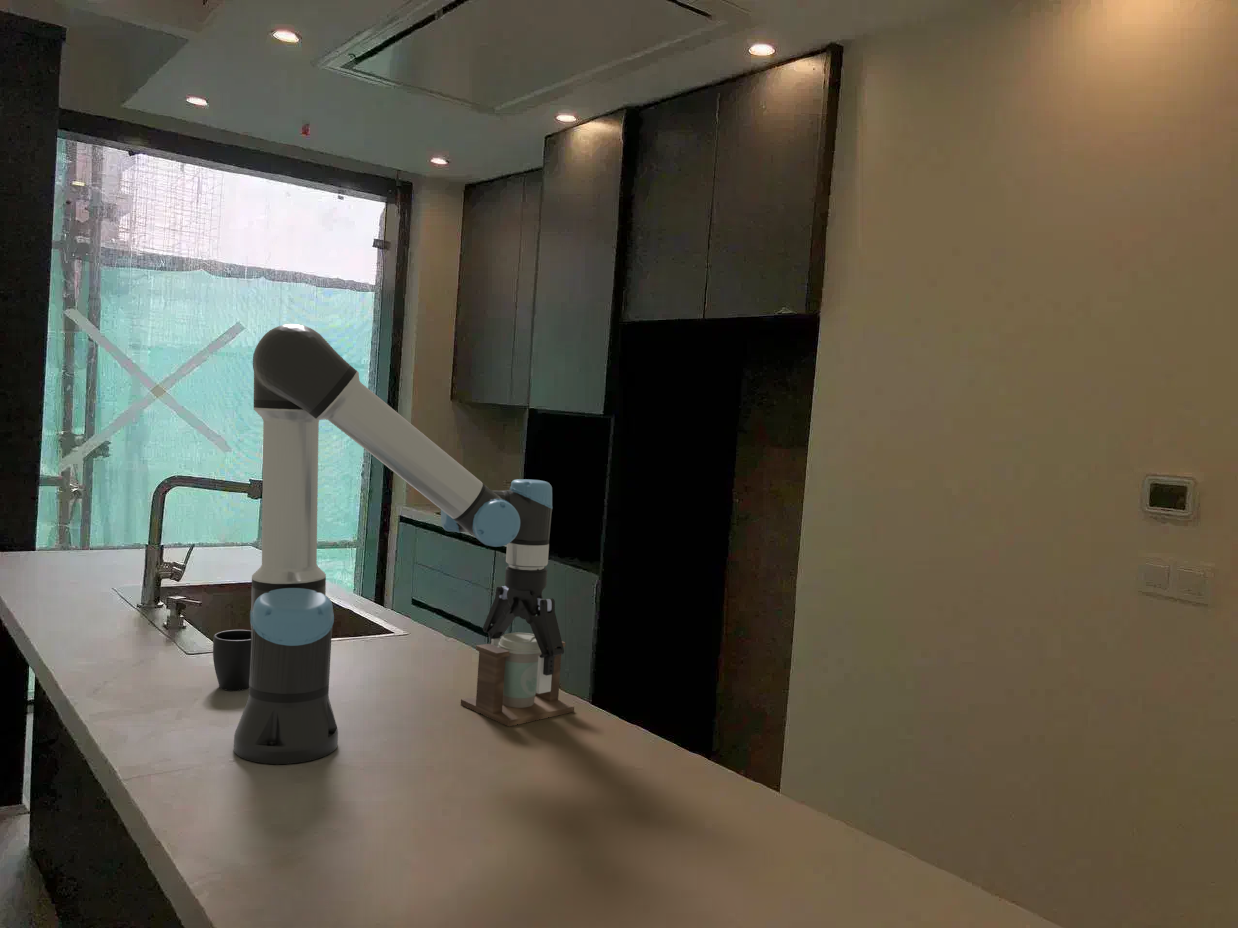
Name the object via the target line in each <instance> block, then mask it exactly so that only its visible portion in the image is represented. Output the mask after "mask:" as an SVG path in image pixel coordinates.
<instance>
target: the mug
mask: <svg viewBox="0 0 1238 928" xmlns="http://www.w3.org/2000/svg"><path fill="white" fill-rule="evenodd" d="M212 643H213V645H212V657H213V658H212V659H213V666H214V670H215V675H216V679H217V682H218V687H219V689H221V690H224V691H231V692H236V691H238V692H239V691H244V690H249V677H250V657H251V630H250V629H230V630H223V631H219V632H216V633H215V634H214V635H213V642H212Z"/></svg>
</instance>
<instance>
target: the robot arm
mask: <svg viewBox="0 0 1238 928" xmlns="http://www.w3.org/2000/svg"><path fill="white" fill-rule="evenodd" d="M252 355H253V356H252V369H253V410H254V411H255V412H256V413H257V414H258V415H259V417H261V419H262V420H263V425H262V426H263V427H262V429H263V430H262V431H263V432H262V433H263V434H262V437H263V439H262V443H263V444H262V504H261V505H262V507H261V508H262V509H261V510H262V512H261V513H262V519H261V528H262V529H261V565H260V567H259V568H258V569H257V570H256V571H254V573H253V574H252V575H251V604H250V605H251V608H250V611H249V623H250V629H251V657H250V677H249V689H248V698H247V701H246V704H245V706H244V709H243V711H242V714H241V717H240V719H239V722H238V724H237V726H236V729H235V732H234V735H233V736H234V737H233V738H234V739H233V752H234V753H235V754H236V756H238V757H240V758H241V759H244V760H247V761H249V762H250V761H251V762H254V763H260V764H270V765H273V764H274V765H284V764H285V765H287V764H297V763H298V764H299V763H305V762H309V761H310V762H311V761H314V760H318V759H321V758H323V757H325V756H329V754H332V753H333V752H334V751H335V750H336V749H337V748H338V740H339V729H338V725H337V722H336V719H335V718H336V717H335V714H334V711H333V707H332V704H331V701H330V697H329V694H330V692H329V691H330V677H331V676H330V675H331V674H330V673H331V671H330V670H331V655H332V653H331V652H332V634H333V625H334V621H335V616H334V615H335V614H334V609H333V608H334V607H333V603H332V601H331V599H330V598H329V597H328V596H327V595H326V593H327V592H326V591H327V588H326V587H327V584H326V583H327V580H326V578H327V576H326V575H327V573H325V571H323V569H321V568H320V566H318V564H317V560H318V559H317V558H318V557H317V555H318V554H317V552H318V551H317V550H318V549H317V548H318V498H319V497H318V494H319V492H318V489H319V488H318V487H319V486H318V485H319V483H318V482H319V478H318V477H319V429H320V428H319V424H320V423H319V422H320V421H321V420H327V421H329V422H330V423H331V424H332V425H334V426H335V427H336V428H337V429H339V430H340V431H341V432H343V433H344V434H345V435H346V436H347V437H349V438H350V439H351V440H353V441H354V442H355V443H357V445H359V446H360V447H362V448H363V449H364V450H365V451H367V453H369V454H370V455H372V456H373V457H374V458H376V459H377V460H378V461H379V462H381V464H383V465H384V466H385V467H387V468H388V469H389V470H390V471H392V472H393V473H394V474H396V476H398V477H400V478H401V480H403V481H405V482H406V483H407V484H409V486H411V487H412V488H413V489H415V490H416V491H417V492H419V493H420V494H421V495H422V496H424V497H425V498H426V499H427V500H429V501H430V502H431V503H432V504H433V505H435V506H436V507H437V508H438V509H440V522H441V526H442V528H443V530H444V531H445V532H446V531H447V532H453V533H458V534H461V533H469V535H472V536H473V537H474V538H476V539H477V540H478V541H479V542H480V543H481V544H483V545H484V546H489V547H495V548H497V547H504V546H506V553H505V563H507V566H506V567H505V572H504V586H503V585H502V586H497V587H496V589H495V596H494V600H493V602H492V605H491V608H490V610H489V612H488V614H487V616H486V619H485V622H484V624H483V626H482V631H483V633H487V635H488V638H489V644H491V645H494V646H497V647H498V645H499V642H500V640H501V637H502V635H504V634H505V633H506V631H507V629H509V627H510V626H511V624H512V623H513V621H514V620H515V619H516V618H517V617H519V618H520V619H522V620H525V621H526V624H528V625H529V626H530V628H531V631H532V634H534V636H535V638H536V641H537V643H538V646H539V648H540V651H541V653H542V654H541V655H540V656H539V657H538V672H537V687H536V693H538V694H540V693H545V692H550V691H551V679H552V674H553V672H554V660H555V656H556V655H561V656H562V655H564V653H565V647H563V644H562V641H563V640H562V636H561V632H560V628H559V623H558V620H557V619H558V618H557V616H556V602H555V599H554V598H543V592H544V590H545V589H546V587H547V585H548V584H547V582H548V571H549V570H548V569H547V568H546V567H547V565H548V564H549V551H550V534H551V524H552V512H553V508H554V507H553V487H552V485H551V484H550V482H548V481H545V480H540V479H529V478H528V479H526V478H525V479H524V478H522V479H521V478H519V479H518V478H516V479H513V480H512V481H511V483H510V487H509V489H505V490H492V489H491V488H489V487H488V486H487V485H486V484H484V483H483V482H482V481H481V480H480V479H479V478H478V477H476V476H475V475H474V474H472V472H471V471H469V470H467V468H465V467H464V466H463V465H462V464H460V462H458V461H457V460H456V459H454V457H452V456H450V455H449V454H448V453H447V452H446V451H445V450H444V449H442V448H441V447H440V446H439V445H438V444H436V443H435V441H432V440H431V439H430V438H429V437H427V435H425V434H424V433H423V432H422V431H421V430H419V429H418V428H417V427H416V426H415V425H413V424H411V422H410V421H408V420H407V419H406V418H405V417H403V416H402V415H401V414H400V413H398V412H397V411H396V410H395V409H394V408H392V407H391V406H390V405H389V404H388V403H386V402H385V401H384V400H383V399H382V398H380V397H379V396H378V395H377V394H375V392H373V391H372V390H370V389H369V388H368V387H367V386H366V385H365V384H364V383H363V382H361V381H360V373H359V371H358V370H357V369H355V368H354V367H353V366H352V365H350V363H349V362H348V361H346V359H344V357H342V356H341V355H340V354H339V353H338V352H337V351H336V350H335V348H333V347H332V346H331V344H330V343H329V342H328V341H327V340H326V339H325V338H324V337H323V336H322V335H321V334H320V333H319V332H317V331H316V330H314V329H313V328H311V327H308V326H306V325H302V324H298V323H287V324H281V325H279V326H276V327H273V328H272V329H270V330H268V331H267V332H265V334H264V335H263V336H262V337H261V339H260V340H259V341H258V343H257V345H256V347H255V349H254V352H253V354H252ZM555 647H557V648H555ZM547 648H548V650H547Z"/></svg>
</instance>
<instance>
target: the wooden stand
mask: <svg viewBox="0 0 1238 928" xmlns="http://www.w3.org/2000/svg"><path fill="white" fill-rule="evenodd" d="M566 643H567V642H565V641H563V640H562V644H563V648H566V645H567V644H566ZM555 648H557V647H555ZM547 650H548V648H547ZM475 651H477V652H478V666H477V681H476V693H475V694H476V696H471V697H466V698H461V699H460V706H462V707H465V708H467V709H469V708H470V709H469V710H471V709H472V710H471V711H473V710H474V711H473V712H475V711H476V712H475V713H478V712H479V713H478V714H480V713H481V714H480V715H482V714H483V715H482V716H484V715H485V716H484V717H486V716H488V717H487V718H489V719H491V718H492V719H491V720H493V719H494V720H493V721H495V720H496V721H495V722H497V721H498V722H497V723H499V722H500V723H499V724H502V725H504V724H505V725H504V726H506V725H507V726H506V727H508V726H509V727H512V725H514V726H517V724H518V725H522V724H526V722H527V723H530V722H535V720H536V721H539V719H540V720H543V719H544V720H545V719H548V717H549V718H553V717H557V716H561V715H566V714H570V713H573V712H575V706H574V705H572V704H570V703H567V702H565V701H562V700H559V694H560V693H559V692H560V679H561V677H560V676H561V665H562V663H561V662H562V654H561V655H556V656H555V660H554V672H553V674H552V679H551V691H550V692H545V693H540V694H538V693H536V694H535V700H534V704H533V705H532V706H530V707H526V708H514V707H508V706H505V705H504V704H503V690H504V674H505V659H506V656H509V653H510V651H507V650H505V649H502V648H499V647H497V646H494V645H491V644H490V643H484V644H477V645H475Z"/></svg>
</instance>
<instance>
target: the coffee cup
mask: <svg viewBox="0 0 1238 928" xmlns="http://www.w3.org/2000/svg"><path fill="white" fill-rule="evenodd" d="M500 638H501V640H500V642H499V645H498V647H499V648H502V649H505V650H507V651H510V653H509V656H506V659H505V674H504V690H503V704H504V705H505V706H508V707H514V708H526V707H530V706H532V705H533V704H534V700H535V694H536V687H537V672H538V657H539V656H540V655H541V654H542V653H541V651H540V648H539V646H538V643H537V641H536V638H535V636H534V633H529V632H509V633H504V635H502V636H500Z"/></svg>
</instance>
